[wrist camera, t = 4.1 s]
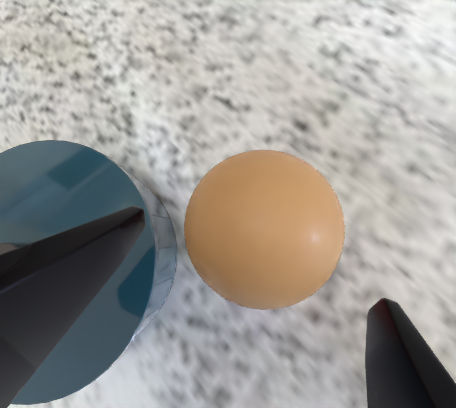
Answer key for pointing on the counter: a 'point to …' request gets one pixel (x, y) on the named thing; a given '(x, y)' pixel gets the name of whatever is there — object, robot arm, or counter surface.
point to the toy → (264, 229)
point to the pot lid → (66, 219)
